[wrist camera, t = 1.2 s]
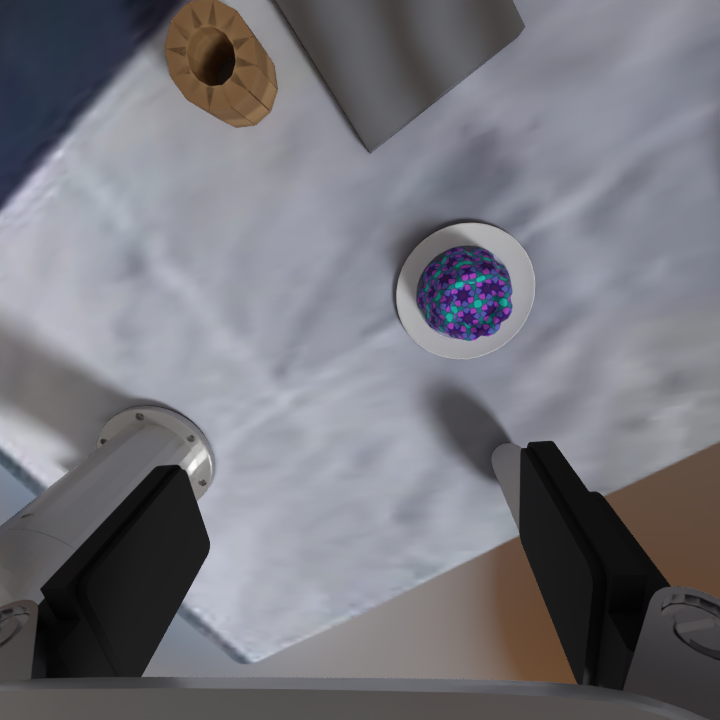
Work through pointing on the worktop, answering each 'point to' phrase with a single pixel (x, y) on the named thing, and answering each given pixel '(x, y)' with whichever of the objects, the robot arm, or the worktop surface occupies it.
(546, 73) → the worktop surface
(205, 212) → the worktop surface
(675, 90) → the worktop surface
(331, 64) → the needle stand
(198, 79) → the bead
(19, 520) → the robot arm
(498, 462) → the donut
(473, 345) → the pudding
